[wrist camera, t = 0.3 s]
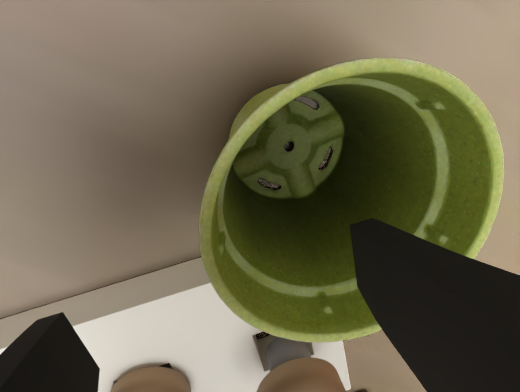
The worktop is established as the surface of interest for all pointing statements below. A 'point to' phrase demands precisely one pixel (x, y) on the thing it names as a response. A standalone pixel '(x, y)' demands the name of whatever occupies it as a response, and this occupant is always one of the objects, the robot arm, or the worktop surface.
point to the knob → (297, 370)
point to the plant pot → (343, 189)
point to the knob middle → (153, 380)
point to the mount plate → (168, 331)
